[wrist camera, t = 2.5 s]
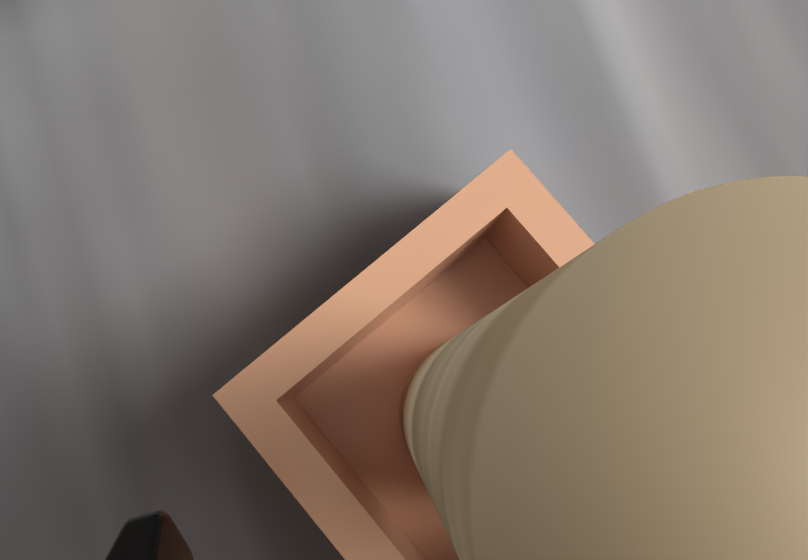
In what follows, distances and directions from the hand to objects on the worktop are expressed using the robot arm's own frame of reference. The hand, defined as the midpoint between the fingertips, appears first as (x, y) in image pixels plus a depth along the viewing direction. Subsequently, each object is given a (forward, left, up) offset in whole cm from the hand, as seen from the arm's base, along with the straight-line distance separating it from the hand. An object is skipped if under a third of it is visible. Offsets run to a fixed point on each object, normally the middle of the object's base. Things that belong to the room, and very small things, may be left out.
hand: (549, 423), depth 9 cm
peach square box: (0, 0, -8) cm, 8 cm away
